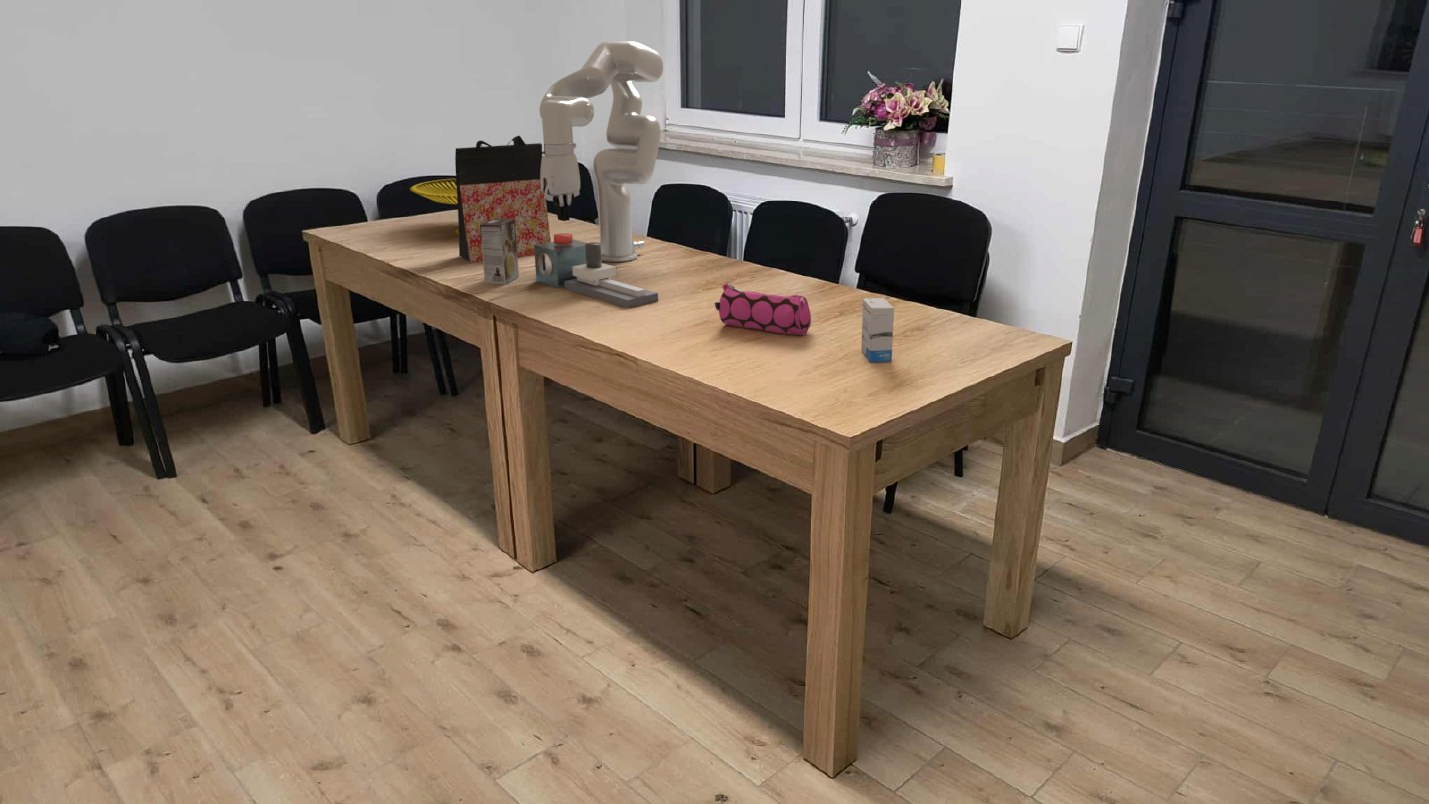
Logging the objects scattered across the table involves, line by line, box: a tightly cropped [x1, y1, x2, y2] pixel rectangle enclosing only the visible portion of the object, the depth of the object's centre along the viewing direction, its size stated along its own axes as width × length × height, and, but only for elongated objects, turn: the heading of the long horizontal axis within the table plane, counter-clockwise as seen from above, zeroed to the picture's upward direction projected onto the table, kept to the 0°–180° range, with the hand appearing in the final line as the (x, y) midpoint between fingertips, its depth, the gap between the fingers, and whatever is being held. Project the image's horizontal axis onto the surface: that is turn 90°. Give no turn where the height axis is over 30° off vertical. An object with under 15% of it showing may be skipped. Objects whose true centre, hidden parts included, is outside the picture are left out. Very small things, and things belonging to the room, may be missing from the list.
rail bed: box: [564, 278, 659, 309], centre depth 253 cm, size 10×26×4 cm, turn 44°
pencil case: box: [714, 282, 812, 336], centre depth 224 cm, size 21×10×10 cm, turn 65°
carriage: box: [572, 241, 617, 286], centre depth 255 cm, size 8×8×10 cm
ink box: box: [860, 297, 895, 363], centre depth 206 cm, size 9×5×12 cm, turn 5°
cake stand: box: [409, 178, 459, 235], centre depth 326 cm, size 40×40×15 cm
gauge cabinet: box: [534, 239, 587, 289], centre depth 264 cm, size 13×10×10 cm
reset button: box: [553, 233, 573, 245], centre depth 262 cm, size 5×5×2 cm
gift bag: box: [454, 135, 552, 263], centre depth 290 cm, size 29×14×35 cm, turn 122°
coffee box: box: [480, 219, 520, 285], centre depth 264 cm, size 9×6×16 cm
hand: (563, 219), depth 261 cm, fingers closed
